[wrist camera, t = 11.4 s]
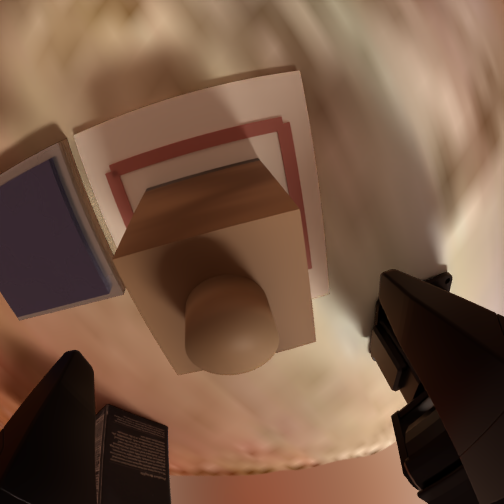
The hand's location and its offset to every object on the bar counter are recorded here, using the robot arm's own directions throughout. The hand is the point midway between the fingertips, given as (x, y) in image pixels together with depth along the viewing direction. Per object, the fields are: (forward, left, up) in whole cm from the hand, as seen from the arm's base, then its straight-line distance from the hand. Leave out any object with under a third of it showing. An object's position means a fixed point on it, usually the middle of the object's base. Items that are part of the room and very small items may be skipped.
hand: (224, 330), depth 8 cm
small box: (+15, +18, -8) cm, 25 cm away
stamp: (0, 0, -7) cm, 7 cm away
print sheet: (0, 0, -7) cm, 7 cm away
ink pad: (+9, -2, -7) cm, 12 cm away
